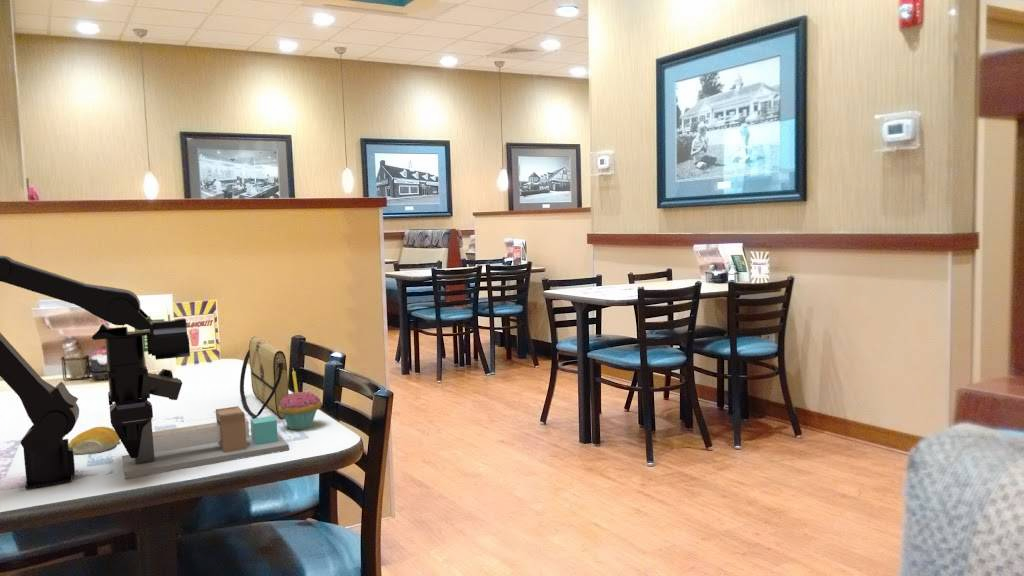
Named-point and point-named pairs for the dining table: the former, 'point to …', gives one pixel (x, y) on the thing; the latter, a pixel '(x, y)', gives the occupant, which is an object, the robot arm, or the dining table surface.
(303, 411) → the cupcake
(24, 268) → the robot arm
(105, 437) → the bread roll
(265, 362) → the shoulder bag
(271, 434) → the block
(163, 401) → the dining table surface
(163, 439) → the grey long block
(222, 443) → the guide
